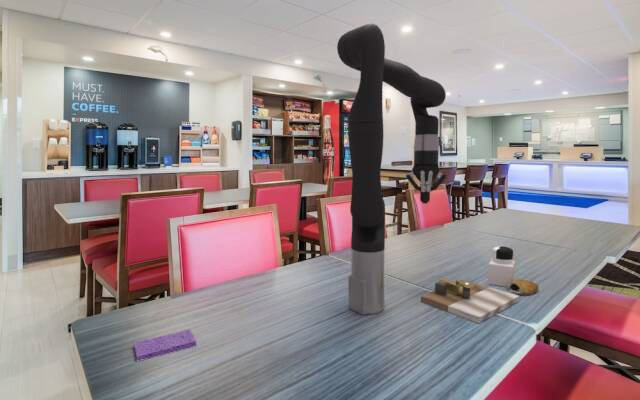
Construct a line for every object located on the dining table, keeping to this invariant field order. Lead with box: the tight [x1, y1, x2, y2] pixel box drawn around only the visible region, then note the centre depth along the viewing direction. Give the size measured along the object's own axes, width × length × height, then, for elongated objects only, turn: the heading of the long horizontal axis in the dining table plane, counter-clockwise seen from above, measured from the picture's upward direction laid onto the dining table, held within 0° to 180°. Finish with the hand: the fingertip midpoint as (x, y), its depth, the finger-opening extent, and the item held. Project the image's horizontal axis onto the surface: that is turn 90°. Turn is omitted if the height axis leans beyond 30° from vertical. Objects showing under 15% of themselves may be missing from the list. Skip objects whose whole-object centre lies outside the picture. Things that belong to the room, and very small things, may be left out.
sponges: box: [133, 328, 197, 361], centre depth 86 cm, size 7×13×2 cm, turn 119°
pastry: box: [505, 279, 539, 296], centre depth 116 cm, size 9×7×4 cm
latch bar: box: [438, 277, 475, 296], centre depth 110 cm, size 11×4×4 cm, turn 30°
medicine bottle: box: [487, 245, 516, 288], centre depth 123 cm, size 7×7×12 cm
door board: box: [420, 281, 520, 324], centre depth 108 cm, size 22×18×5 cm
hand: (424, 203), depth 120 cm, fingers closed
